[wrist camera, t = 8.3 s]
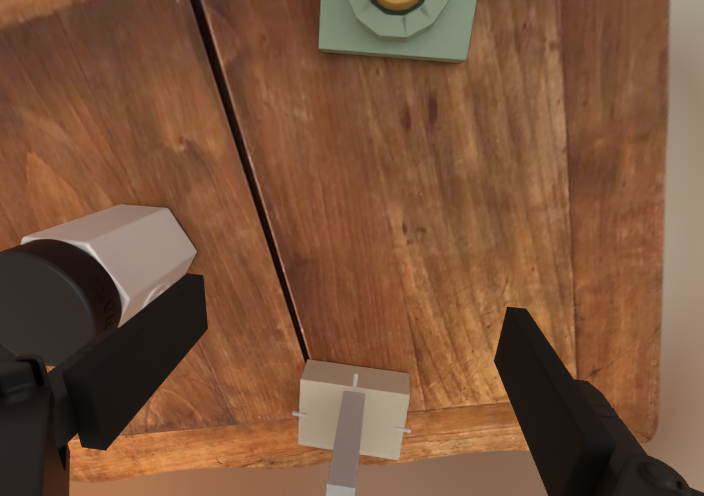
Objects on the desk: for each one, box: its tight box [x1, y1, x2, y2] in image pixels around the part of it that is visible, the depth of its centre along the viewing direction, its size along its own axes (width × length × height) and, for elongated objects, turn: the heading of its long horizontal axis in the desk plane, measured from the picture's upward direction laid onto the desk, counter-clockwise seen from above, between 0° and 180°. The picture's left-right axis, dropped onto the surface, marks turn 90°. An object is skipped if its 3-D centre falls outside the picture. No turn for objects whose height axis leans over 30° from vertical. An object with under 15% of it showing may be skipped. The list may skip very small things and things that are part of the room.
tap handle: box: [326, 391, 365, 496], centre depth 30 cm, size 7×2×9 cm, turn 175°
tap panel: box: [292, 359, 411, 460], centre depth 36 cm, size 11×11×3 cm
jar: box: [0, 204, 197, 366], centre depth 28 cm, size 9×8×12 cm
